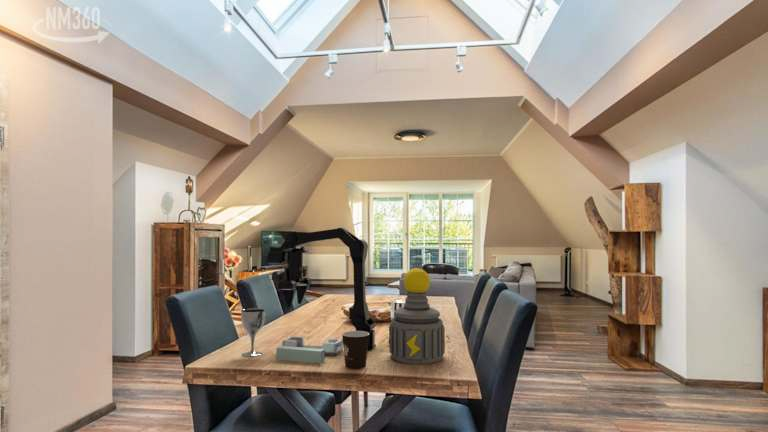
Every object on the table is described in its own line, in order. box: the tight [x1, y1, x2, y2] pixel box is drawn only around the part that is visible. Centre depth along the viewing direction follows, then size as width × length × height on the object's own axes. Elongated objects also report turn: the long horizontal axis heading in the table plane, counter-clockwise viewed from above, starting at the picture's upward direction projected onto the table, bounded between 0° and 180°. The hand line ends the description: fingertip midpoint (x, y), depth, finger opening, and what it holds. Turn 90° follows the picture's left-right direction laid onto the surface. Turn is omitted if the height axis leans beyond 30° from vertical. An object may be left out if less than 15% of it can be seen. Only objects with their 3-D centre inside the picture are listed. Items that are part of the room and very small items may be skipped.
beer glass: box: [390, 299, 406, 320], centre depth 168 cm, size 7×7×15 cm
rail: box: [275, 345, 326, 364], centre depth 139 cm, size 16×3×4 cm, turn 75°
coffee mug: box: [341, 330, 369, 370], centre depth 134 cm, size 12×9×10 cm
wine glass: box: [240, 307, 266, 358], centre depth 146 cm, size 8×8×15 cm
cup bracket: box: [281, 335, 344, 357], centre depth 150 cm, size 20×7×4 cm, turn 78°
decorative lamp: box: [388, 267, 446, 365], centre depth 144 cm, size 19×19×30 cm
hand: (294, 305), depth 161 cm, fingers open, 9 cm apart
